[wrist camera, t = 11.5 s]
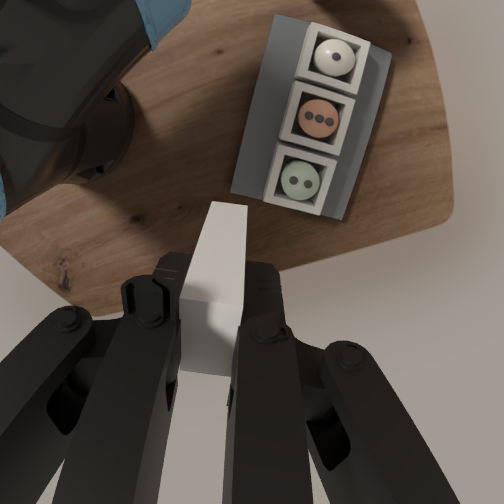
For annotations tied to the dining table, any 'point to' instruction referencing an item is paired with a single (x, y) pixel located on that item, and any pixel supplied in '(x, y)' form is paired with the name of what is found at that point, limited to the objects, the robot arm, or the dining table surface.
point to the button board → (285, 124)
